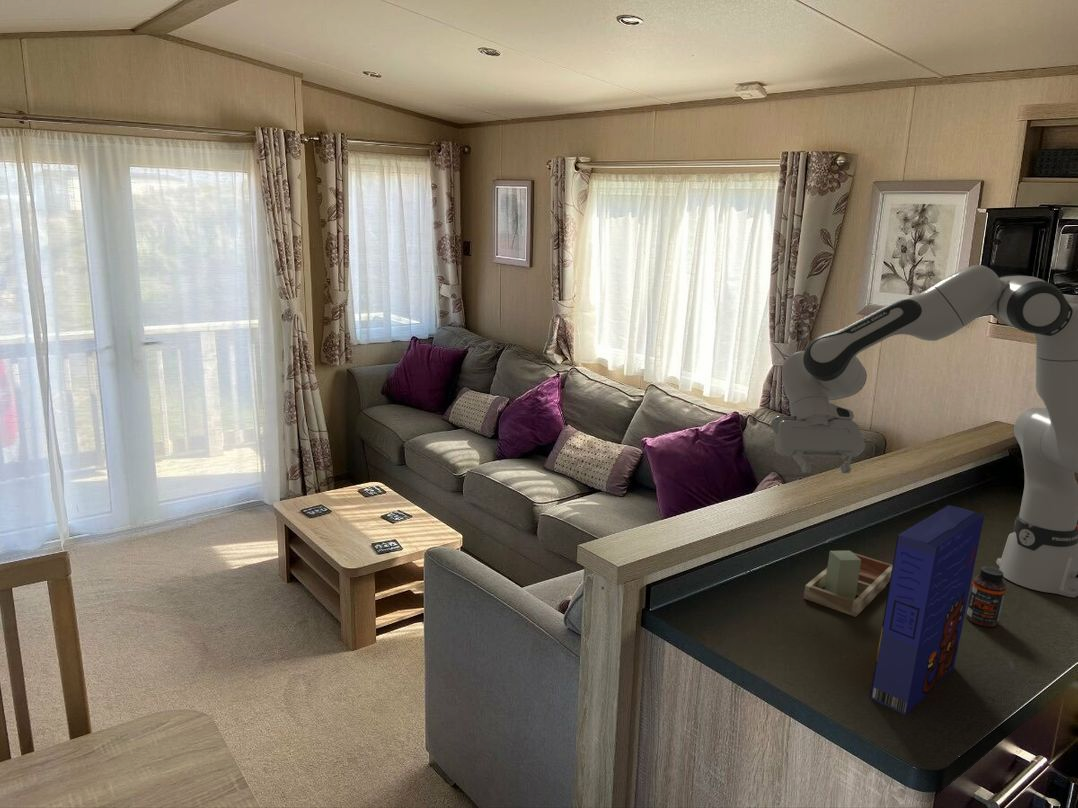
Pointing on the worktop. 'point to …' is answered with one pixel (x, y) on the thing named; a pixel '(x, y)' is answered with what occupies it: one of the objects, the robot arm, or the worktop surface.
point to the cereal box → (925, 606)
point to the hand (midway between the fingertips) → (827, 471)
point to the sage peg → (842, 573)
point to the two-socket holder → (868, 587)
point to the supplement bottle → (986, 597)
